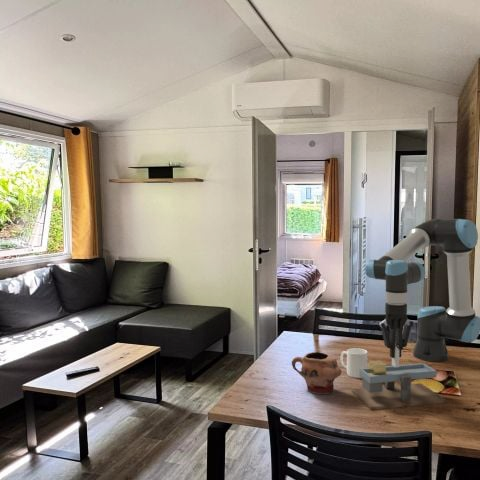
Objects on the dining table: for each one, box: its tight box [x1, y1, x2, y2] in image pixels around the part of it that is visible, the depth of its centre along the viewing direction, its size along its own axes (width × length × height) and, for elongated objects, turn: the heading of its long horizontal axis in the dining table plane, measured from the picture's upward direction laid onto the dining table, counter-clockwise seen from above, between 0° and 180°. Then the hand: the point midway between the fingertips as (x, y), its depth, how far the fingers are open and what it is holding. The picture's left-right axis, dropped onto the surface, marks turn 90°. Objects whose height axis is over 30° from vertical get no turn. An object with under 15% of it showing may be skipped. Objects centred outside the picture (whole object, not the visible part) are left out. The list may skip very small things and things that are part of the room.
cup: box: [339, 347, 368, 379], centre depth 201 cm, size 8×12×10 cm
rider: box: [368, 360, 387, 376], centre depth 174 cm, size 4×4×4 cm
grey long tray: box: [360, 362, 437, 393], centre depth 176 cm, size 26×9×6 cm, turn 100°
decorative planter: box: [291, 351, 342, 395], centre depth 184 cm, size 20×12×14 cm, turn 65°
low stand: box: [351, 364, 447, 411], centre depth 177 cm, size 29×16×10 cm, turn 100°
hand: (395, 365), depth 176 cm, fingers closed
